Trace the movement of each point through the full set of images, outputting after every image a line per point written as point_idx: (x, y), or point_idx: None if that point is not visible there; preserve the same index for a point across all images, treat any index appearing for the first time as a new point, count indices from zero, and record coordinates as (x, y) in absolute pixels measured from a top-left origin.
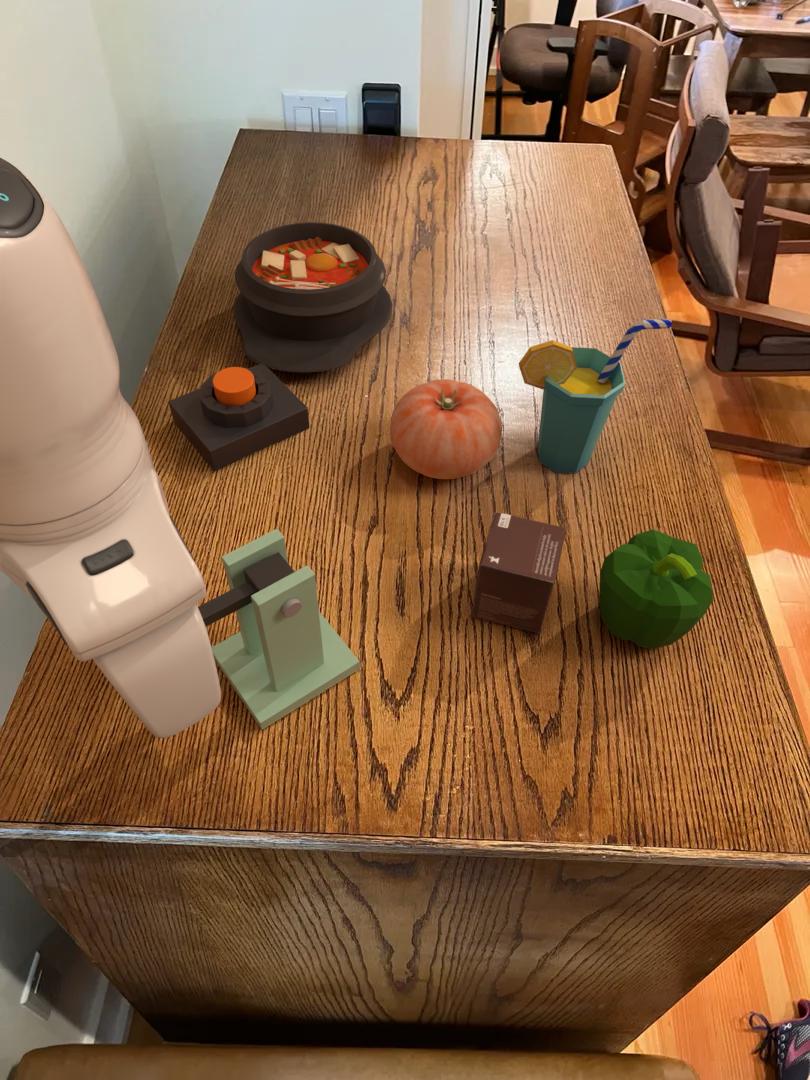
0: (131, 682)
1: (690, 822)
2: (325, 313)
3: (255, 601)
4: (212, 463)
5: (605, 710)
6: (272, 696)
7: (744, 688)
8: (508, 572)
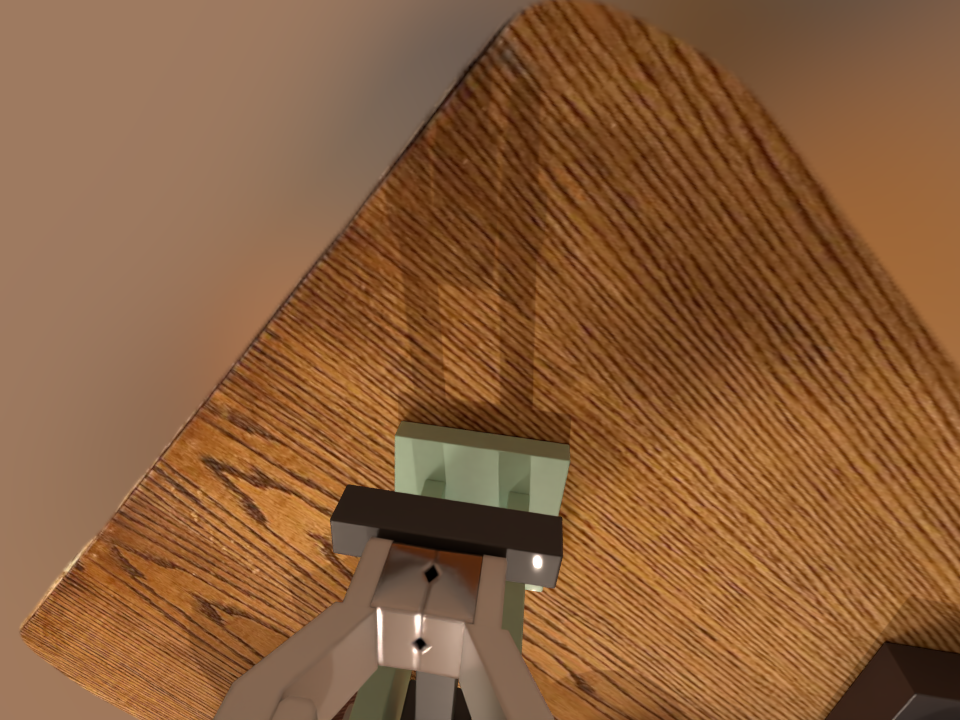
0: None
1: (69, 613)
2: None
3: None
4: (897, 661)
5: (203, 649)
6: (423, 471)
7: (165, 715)
8: None
